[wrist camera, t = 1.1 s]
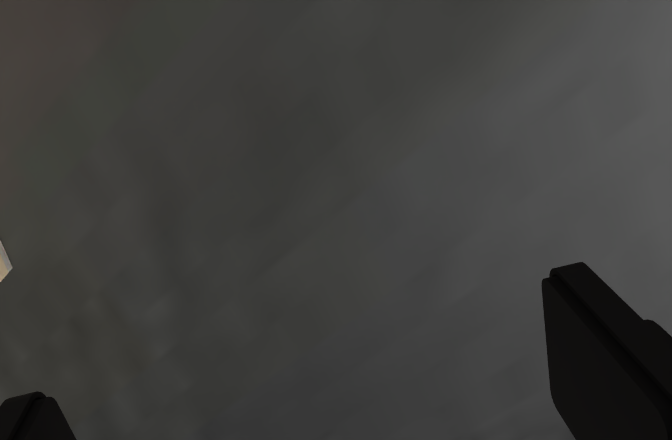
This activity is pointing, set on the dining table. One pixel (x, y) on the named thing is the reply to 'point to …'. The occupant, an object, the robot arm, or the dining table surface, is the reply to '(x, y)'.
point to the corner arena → (4, 263)
